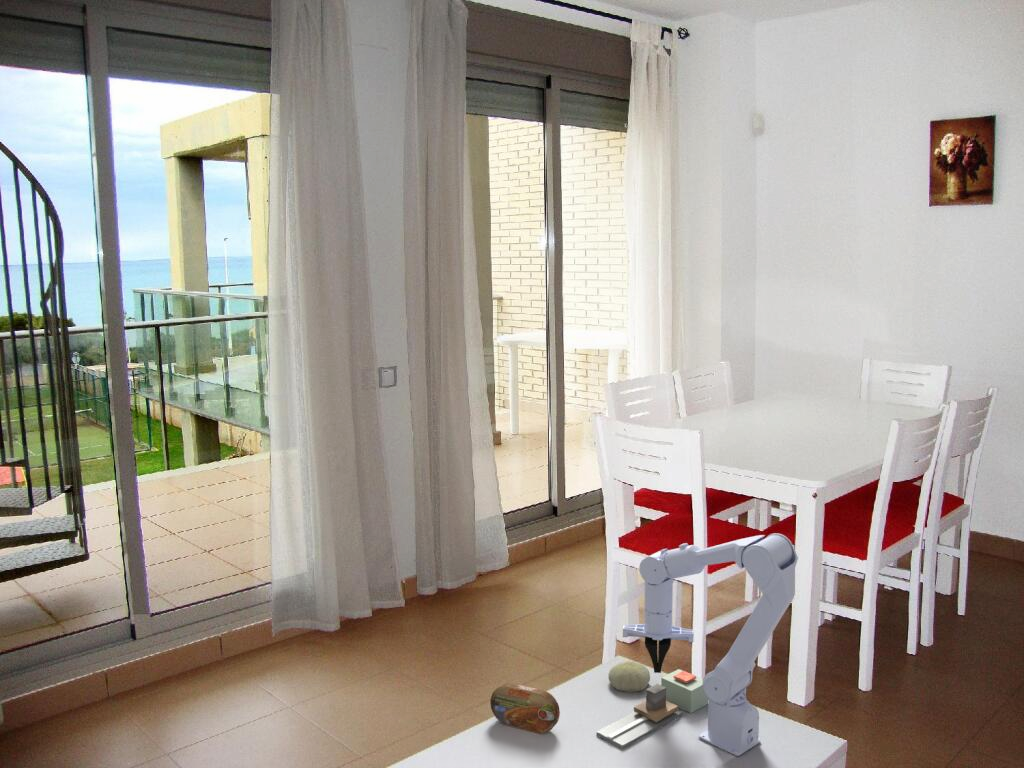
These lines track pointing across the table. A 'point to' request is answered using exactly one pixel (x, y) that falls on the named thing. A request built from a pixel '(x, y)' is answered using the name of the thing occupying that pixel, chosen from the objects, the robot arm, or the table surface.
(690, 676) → the button
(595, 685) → the table surface
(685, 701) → the pale green block
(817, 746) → the table surface
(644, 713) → the carriage
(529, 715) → the tin
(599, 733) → the track
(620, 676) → the sea urchin shell
